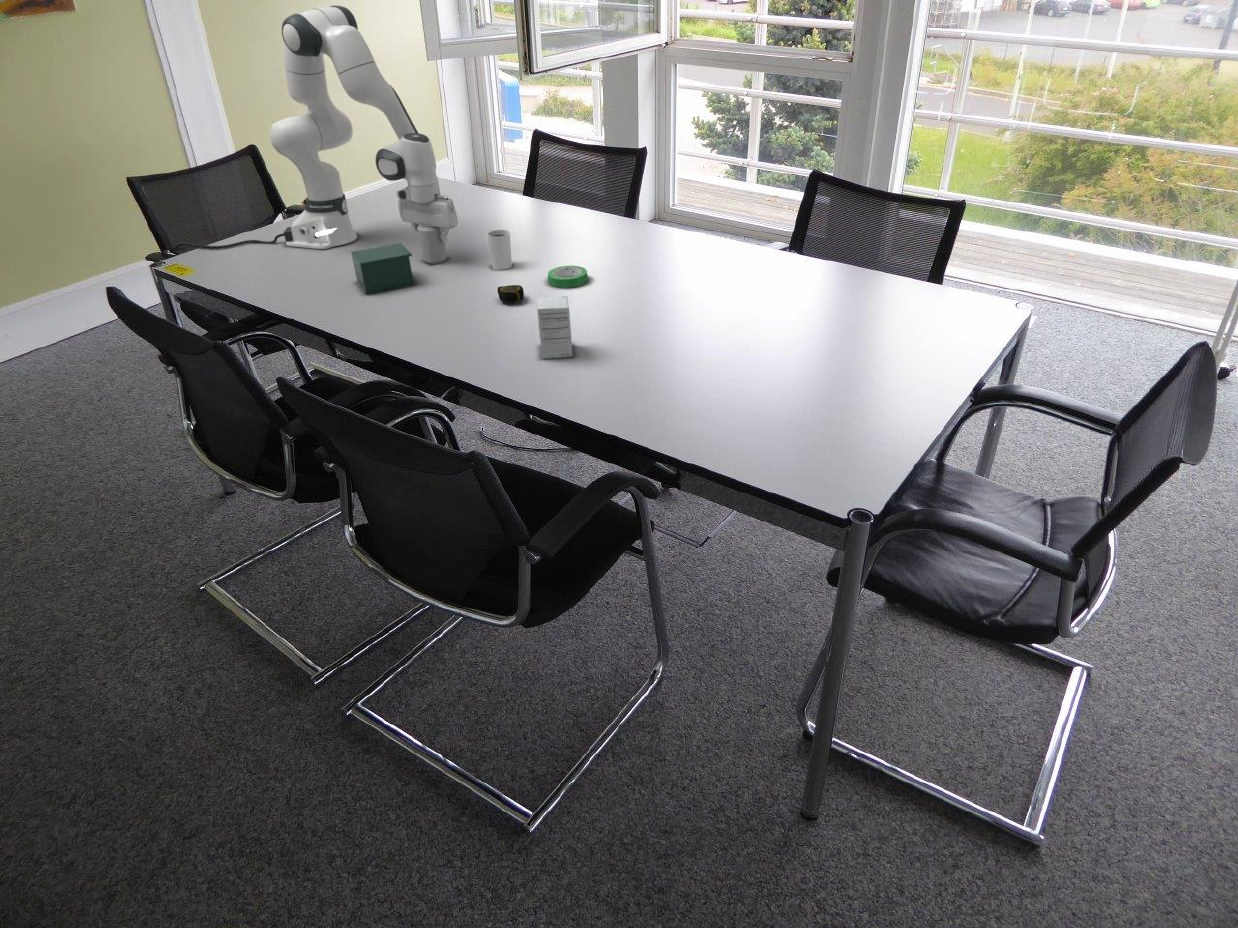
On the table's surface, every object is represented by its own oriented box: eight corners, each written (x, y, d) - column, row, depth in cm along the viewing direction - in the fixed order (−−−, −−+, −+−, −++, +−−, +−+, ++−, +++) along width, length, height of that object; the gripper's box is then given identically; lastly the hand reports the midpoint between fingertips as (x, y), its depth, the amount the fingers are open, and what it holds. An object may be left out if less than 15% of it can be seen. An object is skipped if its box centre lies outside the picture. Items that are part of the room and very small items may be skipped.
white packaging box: (541, 346, 210) (536, 296, 203) (571, 344, 210) (568, 294, 203) (541, 359, 204) (536, 309, 197) (572, 357, 204) (569, 306, 197)
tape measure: (523, 295, 238) (522, 282, 236) (525, 304, 232) (524, 291, 230) (498, 298, 237) (496, 284, 235) (500, 307, 231) (498, 294, 229)
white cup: (517, 264, 259) (514, 231, 254) (505, 271, 254) (502, 238, 249) (498, 261, 262) (494, 228, 256) (486, 268, 257) (482, 235, 251)
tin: (403, 273, 256) (398, 245, 251) (413, 285, 247) (409, 256, 243) (357, 282, 251) (351, 254, 246) (366, 294, 242) (360, 266, 238)
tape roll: (540, 282, 246) (539, 273, 244) (568, 271, 252) (567, 262, 251) (567, 291, 239) (567, 282, 238) (595, 279, 246) (595, 270, 245)
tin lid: (401, 245, 252) (401, 243, 251) (411, 256, 243) (411, 253, 243) (351, 254, 246) (351, 251, 246) (360, 265, 238) (360, 263, 238)
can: (450, 256, 267) (444, 217, 261) (443, 265, 261) (438, 225, 254) (426, 256, 268) (420, 217, 261) (419, 265, 262) (413, 225, 255)
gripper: (458, 193, 250) (465, 241, 258) (407, 186, 260) (414, 232, 267) (444, 199, 246) (451, 247, 253) (392, 191, 255) (400, 238, 263)
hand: (432, 239), depth 260 cm, fingers open, 8 cm apart
